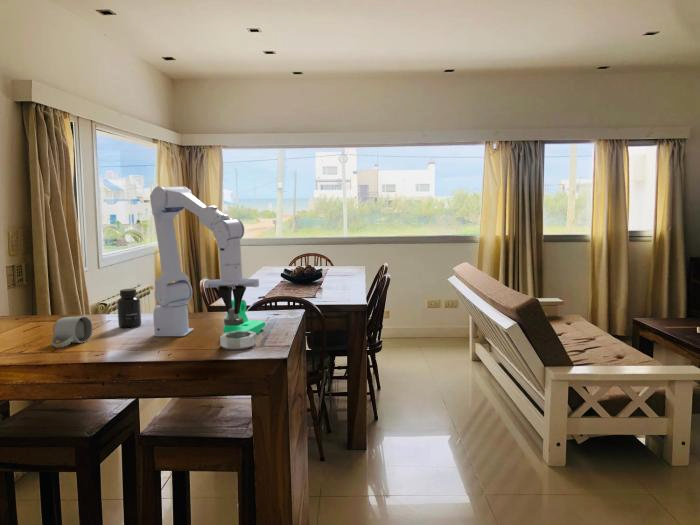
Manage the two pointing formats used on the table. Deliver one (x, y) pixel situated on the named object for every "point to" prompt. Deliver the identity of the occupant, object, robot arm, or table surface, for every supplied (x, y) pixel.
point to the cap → (233, 318)
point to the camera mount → (247, 325)
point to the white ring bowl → (238, 340)
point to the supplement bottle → (129, 309)
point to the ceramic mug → (71, 330)
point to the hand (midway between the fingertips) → (233, 313)
